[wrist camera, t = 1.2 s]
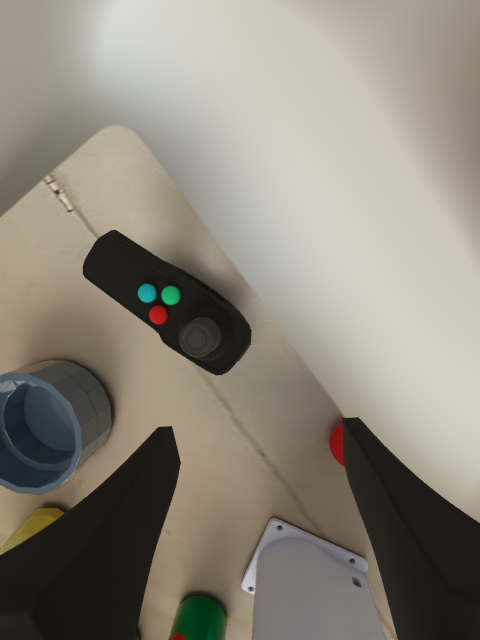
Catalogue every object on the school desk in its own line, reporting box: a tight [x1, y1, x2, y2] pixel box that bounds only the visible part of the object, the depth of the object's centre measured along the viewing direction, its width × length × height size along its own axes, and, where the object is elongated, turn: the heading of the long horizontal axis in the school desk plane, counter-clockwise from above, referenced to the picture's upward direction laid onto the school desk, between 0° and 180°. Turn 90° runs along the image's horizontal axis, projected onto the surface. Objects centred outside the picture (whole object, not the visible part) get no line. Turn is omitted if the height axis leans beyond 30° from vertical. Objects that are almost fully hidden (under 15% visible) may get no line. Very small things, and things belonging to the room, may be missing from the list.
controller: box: [83, 230, 251, 375], centre depth 22 cm, size 4×12×10 cm, turn 55°
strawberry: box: [330, 423, 345, 467], centre depth 24 cm, size 4×4×4 cm
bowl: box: [0, 360, 112, 495], centre depth 27 cm, size 10×10×5 cm
